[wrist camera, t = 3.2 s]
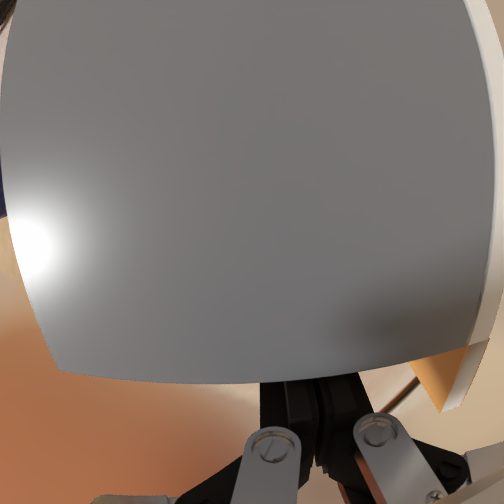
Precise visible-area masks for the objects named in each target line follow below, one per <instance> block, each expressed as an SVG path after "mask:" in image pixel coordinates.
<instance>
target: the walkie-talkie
mask: <svg viewBox="0 0 504 504" xmlns="http://www.w3.org/2000/svg"><path fill="white" fill-rule="evenodd" d="M14 1H15V0H0V24H1V23H2V21H3V19H4V17H5V16H6V14H7V12H8V11H9V10H10V7H11V6H12V5H13V2H14Z"/></svg>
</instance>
